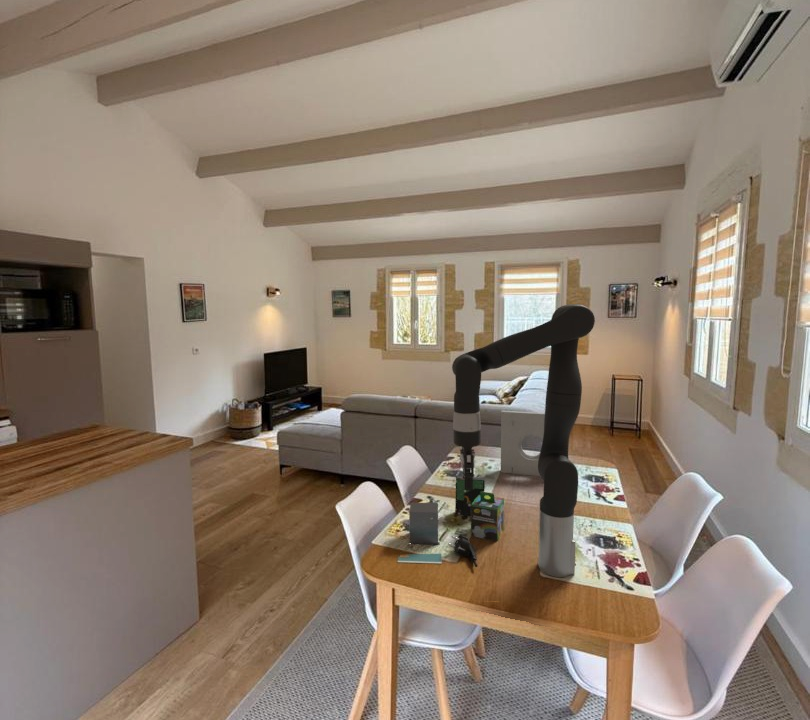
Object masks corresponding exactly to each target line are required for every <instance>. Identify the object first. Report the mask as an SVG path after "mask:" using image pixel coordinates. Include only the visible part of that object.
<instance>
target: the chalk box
mask: <svg viewBox="0 0 810 720" xmlns="http://www.w3.org/2000/svg"><path fill="white" fill-rule="evenodd" d="M504 531H505V499H504V498H503V497H498V496H495V494H494V493H491V492H488V491H487V492H486V491H484V492H480V495H478V496H477V497H476V499H475V500H474V502H473V503H472V504H471V516H470V536H472V537H475V538H479V539H484V540H489V541H493V542H499V540H500V539H501V536H502V534H503V533H504Z"/></svg>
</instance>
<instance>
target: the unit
mask: <svg viewBox="0 0 810 720" xmlns="http://www.w3.org/2000/svg"><path fill="white" fill-rule="evenodd" d="M408 515H409V518H408V522H409V523H408V527H409V528H408V529H409V543H411V544H410V545H412V544H414V545H415V544H419V545H420V546H440V545H441V542H440V541H439V503H438V502H410V505H409V513H408ZM414 545H413V546H414ZM415 546H416V545H415Z"/></svg>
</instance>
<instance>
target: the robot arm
mask: <svg viewBox="0 0 810 720" xmlns="http://www.w3.org/2000/svg"><path fill="white" fill-rule="evenodd" d="M595 319H596V318H595V315H594V313H593V311H592V310H591V309H590V308H589V307H587V306H585V305H583V304H565V305H561V306H559V307H557V309H555V311H554V312H553V313H552V316H551V319H550V320H548V321H546V322H544V323H542V324H540V325H537V326H535V327H531V328H529V329H526V330H522V331H518V332H516V333H513V334H510V335H508V336H505V337H501V338H500V339H497V340H496V341H494V342H491V343H489V344H487V345H485V346H483V347H479V348H476V349H473V350H470V351H468V352H465V353H463V354H460V355H459V356H457V357H455V359H454V360H453V362H452V366H451V370H452V373H453V375H455V391H454V394H453V420H452V422H453V429H452V431H453V432H452V433H453V444H454V445H455V446H457V447H461V449H459V455H460V461H461V469H462V476H463V478H464V488H465V490H473V477H475V473H474V471H475V470H474V469H475V465H476V464H475V459H476V451H475V449H474V447H479V446H480V445H481V442H482V438H481V437H482V434H481V433H482V427H481V424H482V423H481V413H480V409H481V408H480V402H481V401H480V389H481V383H482V373H483V372H486V371H488V370H497V369H499V368H502V367H505V366H507V365H509V364H511V363H514V362H516V361H517V360H520V359H522V358H525V357H526V356H529V355H531V354H533V353H535V352H538V351H541V350H544V349H546V348H548V347H550V359H549V366H548V375H547V383H546V384H547V385H546V394H545V405H544V406H545V407H544V413H545V418H544V435H543V441H541V447H540V452H539V453H540V456H539V461H538V471H539V474H540V476H539V477H540V478H541V479H542V480H543V496H542V497H541V498H540V499H539V521H538V522H539V524H538V527H539V528H538V529H539V531H538V557H537V558H538V560H537V561H538V564H537V565H538V568H539V570H541V572H543V574H546V575H548V576H552V577H556V578H565V577H569V576H570V575H575V572H576V571H575V570H576V566H575V565H576V564H575V563H576V541H575V539H574V520H575V507H576V506H577V502H578V491H579V472H578V469H577V467H576V465H575V464H574V463H573V462H572V461H571V460H570V459H569V444H570V443H569V442H570V436H571V432H572V430H573V427H574V426H575V423H576V421H577V419H578V418H579V417H578V416H579V413H580V410H581V401H582V393H583V385H582V378H581V373H580V368H579V364H578V362H579V361H578V347H579V341H580V340H579V339H581V338H584V337H586V336H587V335H589V334H590V333H591V331H592V330H593V328H594V327H595V323H596V321H595Z"/></svg>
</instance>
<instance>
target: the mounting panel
mask: <svg viewBox="0 0 810 720" xmlns="http://www.w3.org/2000/svg"><path fill="white" fill-rule="evenodd" d="M500 418H501V419H500V421H501V422H500V425H501V426H500V473H506V474H513V475H514V474H515V475H516V474H517V475H525V476H533V477H541V476H540V474H539V471H538V461H539V456H540V452H538V453H537V454H536V455H535V454H534V455H531V454H528V453H526V452H525V451H524V449H523V447H522V443H523V440H525V439H526V438H528V437H535V438H538V439H539V440H540V441H541V442H542V441H543V435H544V418H545V412H537V411H536V412H535V411H517V410H516V411H513V410H501V414H500Z"/></svg>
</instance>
